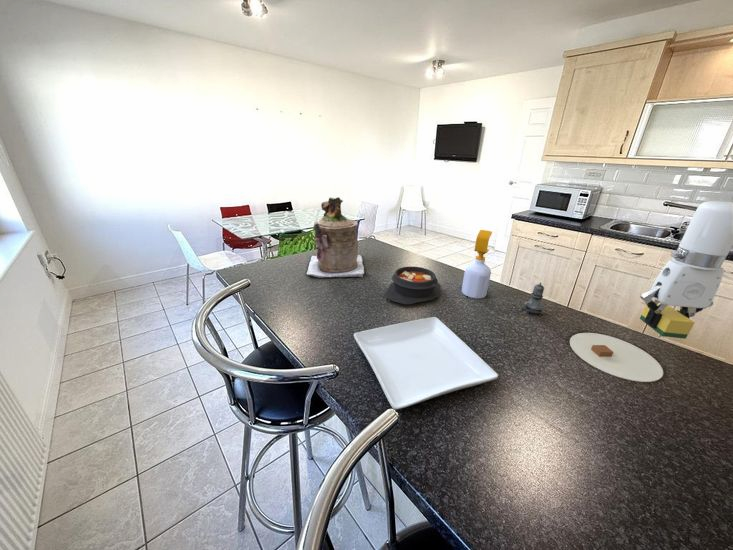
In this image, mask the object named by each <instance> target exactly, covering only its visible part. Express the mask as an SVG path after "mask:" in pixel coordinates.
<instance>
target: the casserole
mask: <svg viewBox="0 0 733 550" xmlns="http://www.w3.org/2000/svg"><path fill="white" fill-rule="evenodd" d="M391 280H392V282H391V283H390V285H389V286H388V289H387V290H386V291H385V293H384V296H385V297H386V298H388V299H389V300H391V301H392V302H396V303H398V304H402V305H413V304H416V303H420V302H421V303H422V302H427V301H432V300H433V299H436V298H437V297H438V296H439V294H440V293H439V291H440V288H441V284H440V283H439V280H438V279H437V276H436V273H435V272H433V271H432V270H431V269H428V268H425V267H420V266H411V265H410V266H402V267H399V268H397V269H396V270H395V271H394V273H393V274H392V275H391Z"/></svg>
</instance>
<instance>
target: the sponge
mask: <svg viewBox="0 0 733 550" xmlns="http://www.w3.org/2000/svg"><path fill="white" fill-rule="evenodd" d="M657 306H659V304H657ZM649 310H650V309H649V308H648V306H647V304H646V303H645V306H644V308H643V310H642V313H641V315H640V317H639V320H641V321H642V322H643V323H645V321H644V320H645V318H646V316H647V314H648V312H649ZM661 314H662V317H661V319H660V321H659V323H658V325H657V327H656V328H652V327H651V326H649V325H648V324H647V323H645V324H646V325H647V326H648V327H650V328H651V329H652V330H654V331H655V332H656V333H657V334H658V335H660V336H662V337H666V338H675V339H684V340H685V339H687V337H688V336H689V334H690V333H691V331H692V329H693V327H694V325H695V324H696V322H695V321H693V320H692V319H690V318H687V317H686V316H684V315H682V314H681V313H679V312H678V311H677V309H674V308H673V307H672V306H670V305H667V307H666V308H665V309H664V310H663V311H662V312H661Z"/></svg>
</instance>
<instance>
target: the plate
mask: <svg viewBox="0 0 733 550" xmlns="http://www.w3.org/2000/svg"><path fill="white" fill-rule="evenodd" d="M569 345H570V348H571V349H572V351H573V352H574V353H575V354H576V355H577V356H578V357H579V358H580V359H581V360H583V361H585V362H586V363H588V364H589V365H591V366H593V368H596V369H598V370H600V371H602V372H604V373H607V374H608V375H612V376H614V377H618V378H620V379H623V380H629V381H633V382H634V381H635V382H641V383H649V382H650V383H651V382H656V381H658V380H661V378H662V377H664V370H663V367H662V366H661V364H660V363H659V362H658V360H656V359H655V357H653V356H652V355H650V354H649V353H647V352H646V351H645V350H643V349H641V348H639V347H638V346H636V345H634V344H632V343H630V342H627V341H625V340H623V339H621V338H617V337H614V336H610V335H606V334H601V333H596V332H579V333H575V334H574V335H572V336H571V337H570V339H569ZM593 345H606V346H607V347H608V348H609V349H610V350H612V351H613V355H612V357H599V356H598V355H597V354H595V353H594V352H593V351H592V350H591V348H592V346H593Z"/></svg>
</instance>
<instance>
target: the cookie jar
mask: <svg viewBox="0 0 733 550" xmlns="http://www.w3.org/2000/svg"><path fill="white" fill-rule="evenodd" d="M343 202H344V200H343V199H341V198H340V197H338V196H337V197H328V200H327V201H323V202H321V205H320V207H321V210H322V211H324V213H323V216H322V217H321V218H320V219H319V220H317V221H316V222H314V223H313V231H314V236H315V239H313V243H314V244H315V245H316V246H317V250H316V251H317V252H316V255H311V256H310V261H309V262H308V263H309V264H308V268H307V272H306V276H311V277H314V278H315V277H316V278H319V279H321V278H364V274H365V270H364V269H365V267H364V264H363V257H362V255H360V254H359V242H358V235H357V234H358V233H357V228H358V226H359V223H358V221H356V220H353V219H349V218H347V217H346V216H345V215H343V214H342V207H341V205H342V203H343Z"/></svg>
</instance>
